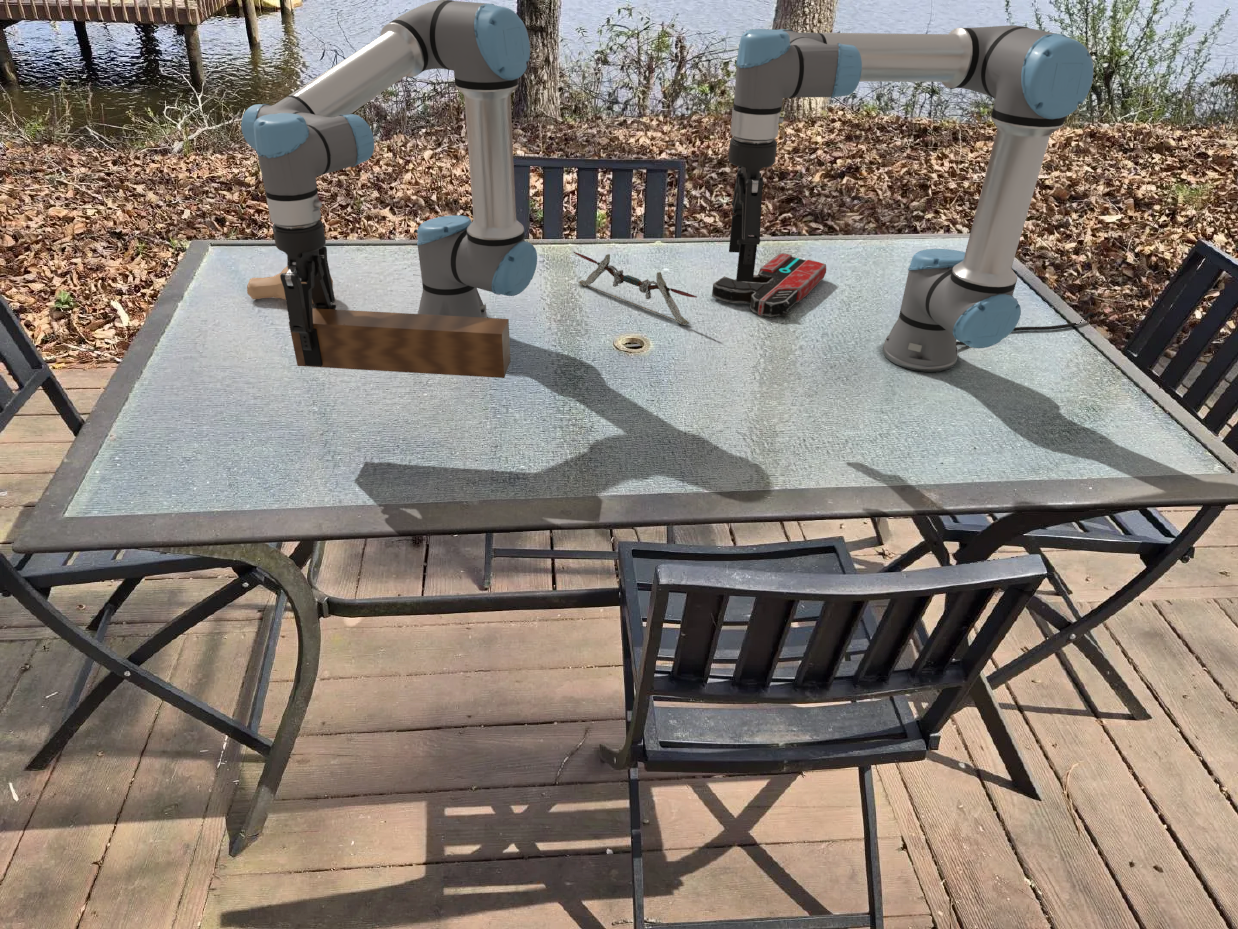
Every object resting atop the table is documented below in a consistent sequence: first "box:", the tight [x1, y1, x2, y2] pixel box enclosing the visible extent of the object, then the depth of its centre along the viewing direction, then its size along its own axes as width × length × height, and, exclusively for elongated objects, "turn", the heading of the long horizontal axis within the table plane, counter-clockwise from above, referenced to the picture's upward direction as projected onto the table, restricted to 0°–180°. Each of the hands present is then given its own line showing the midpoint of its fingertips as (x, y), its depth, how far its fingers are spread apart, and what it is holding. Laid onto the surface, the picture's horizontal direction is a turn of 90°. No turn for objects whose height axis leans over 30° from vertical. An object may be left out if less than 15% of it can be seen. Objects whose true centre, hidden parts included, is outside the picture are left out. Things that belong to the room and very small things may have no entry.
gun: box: [711, 252, 827, 318], centre depth 215 cm, size 4×31×19 cm
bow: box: [573, 251, 698, 326], centre depth 205 cm, size 39×2×10 cm, turn 47°
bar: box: [288, 307, 512, 379], centre depth 146 cm, size 35×6×8 cm, turn 85°
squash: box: [246, 265, 334, 305], centre depth 203 cm, size 11×20×9 cm, turn 90°
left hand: (321, 355), depth 149 cm, fingers closed on bar, 6 cm apart
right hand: (740, 265), depth 151 cm, fingers open, 13 cm apart
